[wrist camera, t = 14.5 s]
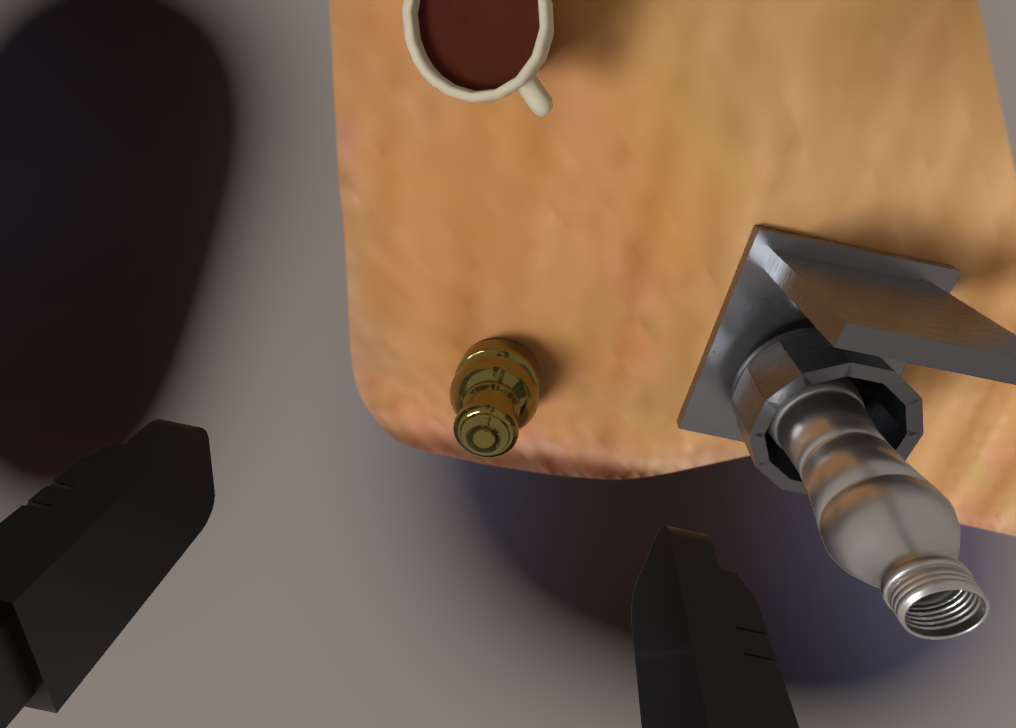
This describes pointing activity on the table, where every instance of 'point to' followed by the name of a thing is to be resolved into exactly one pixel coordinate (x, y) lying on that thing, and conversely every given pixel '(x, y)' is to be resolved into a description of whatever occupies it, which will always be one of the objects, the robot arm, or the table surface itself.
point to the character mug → (482, 47)
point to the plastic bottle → (879, 511)
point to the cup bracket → (833, 341)
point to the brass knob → (494, 396)
